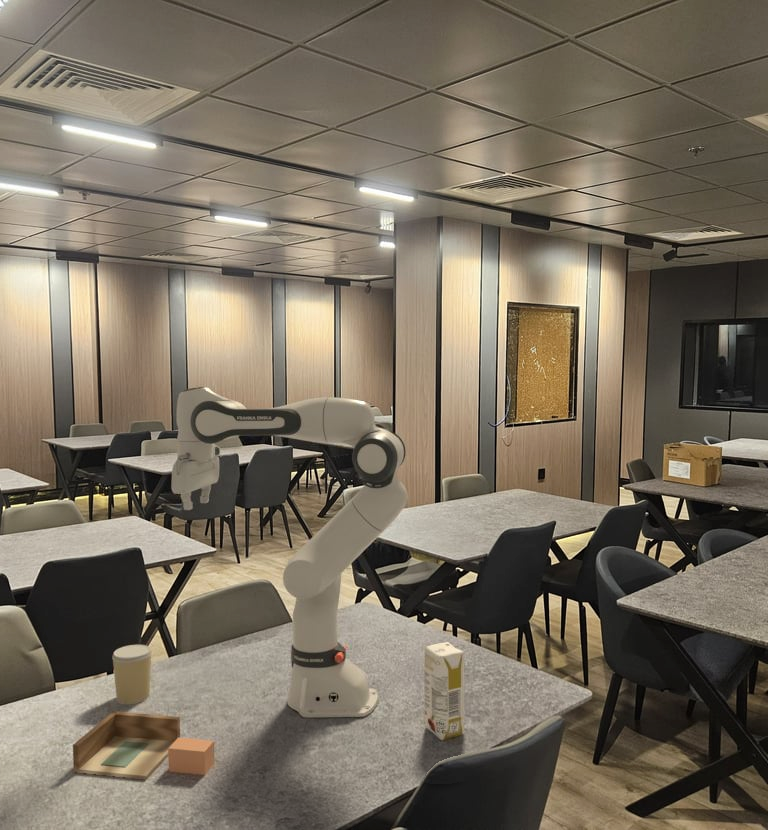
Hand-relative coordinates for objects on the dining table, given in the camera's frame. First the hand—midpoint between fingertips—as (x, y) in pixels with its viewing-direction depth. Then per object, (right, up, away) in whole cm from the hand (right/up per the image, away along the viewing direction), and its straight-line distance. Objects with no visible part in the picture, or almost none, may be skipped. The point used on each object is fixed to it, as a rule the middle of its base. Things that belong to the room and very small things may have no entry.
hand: (196, 506), depth 183 cm
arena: (-7, -50, -29) cm, 58 cm away
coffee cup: (-16, -48, -1) cm, 51 cm away
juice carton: (+61, -49, -19) cm, 81 cm away
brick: (+8, -50, -33) cm, 61 cm away
